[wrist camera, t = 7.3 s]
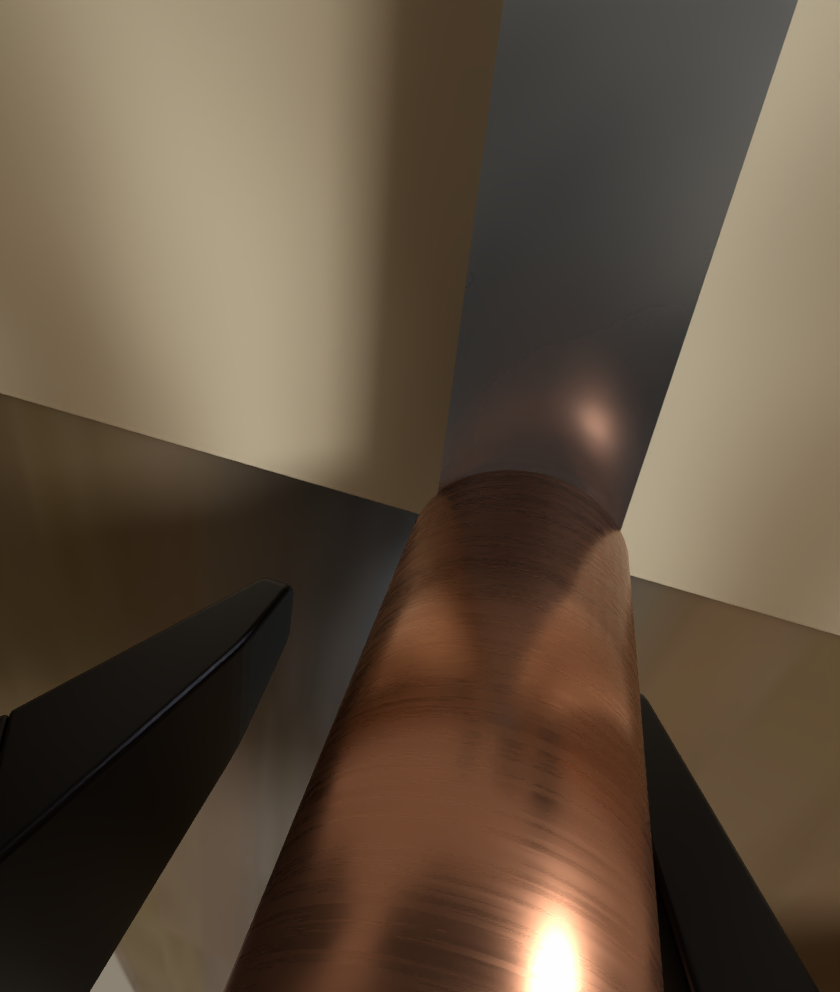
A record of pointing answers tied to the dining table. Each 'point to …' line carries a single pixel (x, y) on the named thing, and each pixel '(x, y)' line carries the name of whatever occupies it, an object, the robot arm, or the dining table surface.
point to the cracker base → (391, 265)
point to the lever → (530, 539)
